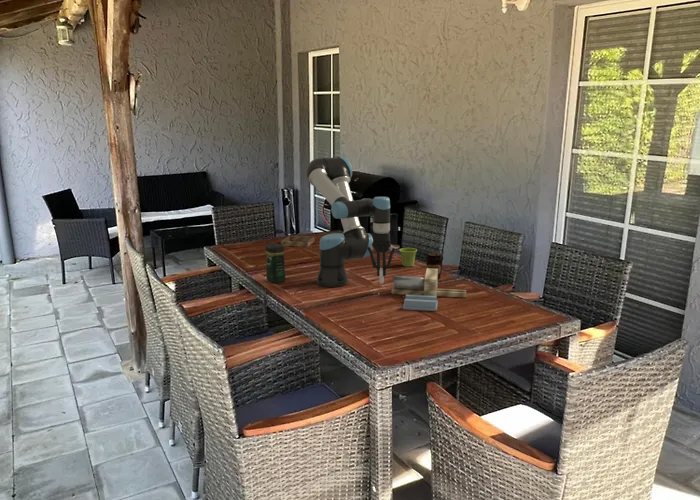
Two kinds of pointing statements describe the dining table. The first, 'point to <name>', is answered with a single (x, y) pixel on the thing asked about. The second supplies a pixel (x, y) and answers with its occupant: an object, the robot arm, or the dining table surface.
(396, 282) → the axle
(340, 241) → the robot arm
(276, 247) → the coffee jar
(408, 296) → the v block
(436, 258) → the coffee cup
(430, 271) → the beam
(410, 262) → the plant pot
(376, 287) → the dining table surface
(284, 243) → the can corral
